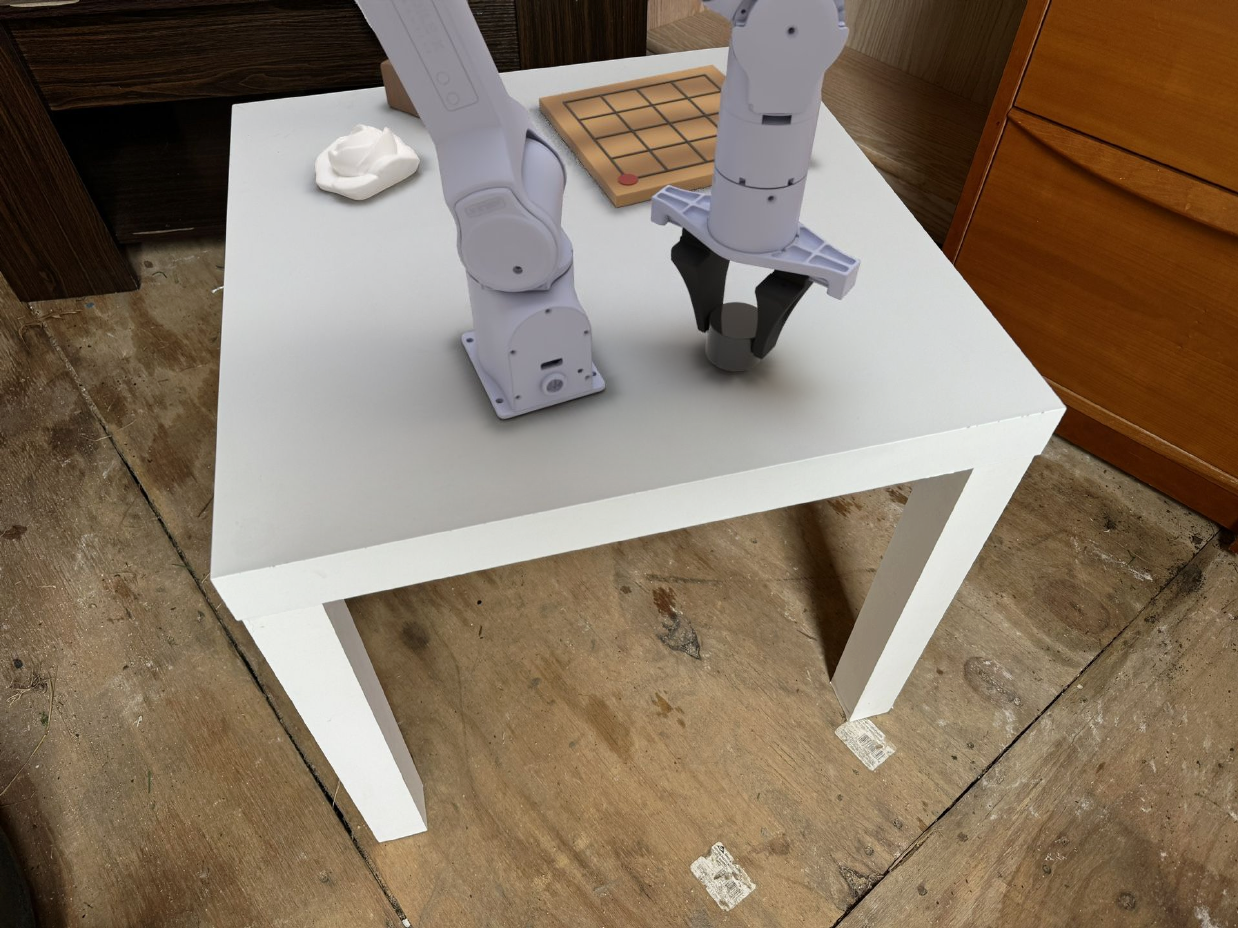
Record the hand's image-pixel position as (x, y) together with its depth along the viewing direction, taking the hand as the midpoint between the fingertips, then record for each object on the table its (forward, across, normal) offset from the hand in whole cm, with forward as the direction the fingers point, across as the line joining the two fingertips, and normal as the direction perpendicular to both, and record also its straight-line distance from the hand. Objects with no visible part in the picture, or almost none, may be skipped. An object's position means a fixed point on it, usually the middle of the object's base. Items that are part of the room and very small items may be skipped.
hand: (736, 337), depth 64 cm
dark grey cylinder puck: (+1, 0, 0) cm, 1 cm away
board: (+2, +23, -25) cm, 34 cm away
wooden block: (+2, +45, -14) cm, 47 cm away
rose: (+2, +41, -2) cm, 41 cm away
